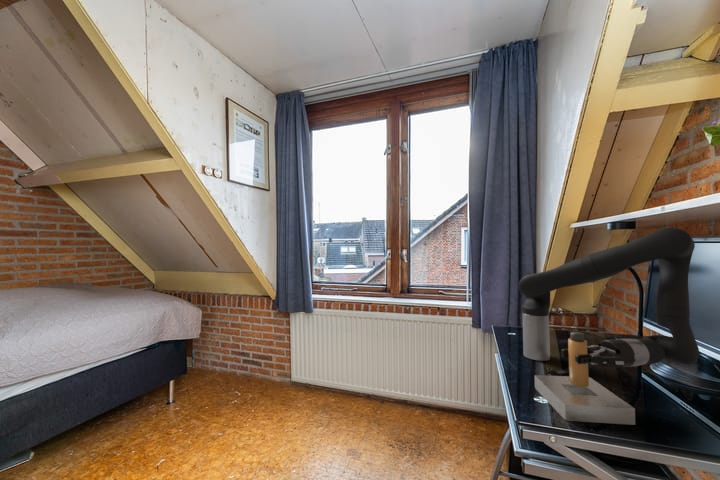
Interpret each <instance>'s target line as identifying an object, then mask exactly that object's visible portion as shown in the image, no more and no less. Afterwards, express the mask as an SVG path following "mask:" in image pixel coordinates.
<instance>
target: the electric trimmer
mask: <svg viewBox="0 0 720 480" xmlns="http://www.w3.org/2000/svg"><path fill="white" fill-rule="evenodd" d="M545 375H547V376H569V368H565V369H558V370H554V369H553V370H550V371H548V372H547V373H546V374H545Z"/></svg>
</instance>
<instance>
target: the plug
mask: <svg viewBox="0 0 720 480" xmlns="http://www.w3.org/2000/svg"><path fill="white" fill-rule="evenodd" d="M569 333H570V337H569V338H568V339H567V346H568V347H567V349H568V353H569V357H568V369H569V378H570V383H571V384H573V385H576V386H580V387H588V386H589V377H590V376H589V363H586V364H578V363H576V361H575V356H576V355H585V354H588V351H587V346H588V341H587V340H586V339H585V333H583V332H579V331H570V332H569Z"/></svg>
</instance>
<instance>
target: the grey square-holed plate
mask: <svg viewBox="0 0 720 480" xmlns="http://www.w3.org/2000/svg"><path fill="white" fill-rule="evenodd" d="M534 389H535V390H536V391H537V392H538V393H539V394H540V395H541V396H542V397H543V398H544V399H545V400H546V401H547V402H548V403H549V405H550V406H551V407H552V408H553V409H554V410H555V411H556V412H557V413H558V414H559V415H560V417H562V419H564V421H566V422H567V421H568V422H584V423H600V424H602V423H603V424H614V425H615V424H616V425H631V426H632V425H634V426H635V425H636V408H635V407H633V406H632V405H631V404H629V402H627V401H625V400H623V399H622V398H620V396H618V395H616V394H614V393H613V392H612V391H610V390H609V389H607V388H606V387H604V386H603V385H602V384H600V382H598V381H596V380H594V379H593V378H592V377H590V376H589V386H588V387H580V386H576V385H573V384H571V383H570V378H569V376H547V375H546V374H545V375H544V374H534Z"/></svg>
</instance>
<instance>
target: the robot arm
mask: <svg viewBox="0 0 720 480" xmlns="http://www.w3.org/2000/svg"><path fill="white" fill-rule="evenodd" d="M695 245H696V243H695V241H694V239H693V237H692V236H691V235H690V234H689V232H688V231H686V230H684V229H681V228H677V227H665V228H660V229H658V230H656V231H653V232H651V233H649V234H647V235H643V236H641V237H639V238H636V239H635V240H632V241H629V242H627V243H624V244H620V245H617V246H613V247H610V248H606V249H603V250H600V251H596V252H593V253H590V254H588V255H587V254H586V255H584V256H581V257H579V258H576V259H575V258H574V259H572V260H570V261H568V262H566V263H563V264H561V265H559V266H556V267H555V268H552V269H549V270H546V271H541V272H537V273H530V274H526V275H524V276H523V277H522V278H521V279H520V280H519V281H518V290H519V292H520V293H521V295H523V296H524V301H523V302H524V303H523V305H522V309H521V310H522V311H521V312H522V343H523V344H522V347H523V350H522V351H523V354H522V355H523V356H524V357H525V358H527V359H530V360H535V361H539V362H541V361H546V362H547V361H549V360H551V351H550V349H551V347H550V345H551V343H550V340H551V339H550V313H549V312H550V307H551V292H553V291H556V290H559V289H562V288H568V287H573V286H579V285H585V284H589V283H594V282H598V281H601V280H604V279H608V278H610V277H613V276H616V275H617V274H620V273H623V272H624V271H626V270H628V269H631V268H632V267H634V266H636V265H637V266H638V265H640V264H643V263H648V262H652V261H656V260H657V261H658V266H659V267H658V268H659V278H658V286H657V291H656V297H655V298H656V299H655V321H656V324H657V325H658V326H660V327H661V328H664V329H667V330H669V332H670V334H671V336H668V335H663V334H662V335H661V334H653V335H649V336H648V335H647V336H646V337H645V336H644V337H643V338H614V339H613V338H611V339H603V340H601V341H600V342H599V343H598V344H597V345H596V344H592V345H587V351H588V354H585V355H576V356H575V361H576V363H578V364H586V363H588V364H591V365H597V367H600V368H614V369H615V368H618V369H620V368H621V369H622V368H623V369H624V368H629V367H630V368H631V367H638V366H642V365H654V364H658V363H661V362H663V360H665V361H669V362H673V363H677V364H682V365H686V366H691V365H693V364H695V363H697V361H698V359H699V356H700V350H699V349H700V348H699V345H698V343H697V340H696V338H695V335H694V332H693V329H692V326H691V324H690V323H691V322H690V295H689V294H690V292H689V271H690V265H691V260H692V257H693V252H694V251H695V247H696V246H695ZM560 353H561V355H560V356H561V358H569V353H568V348H562V349H561V350H560Z"/></svg>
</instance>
